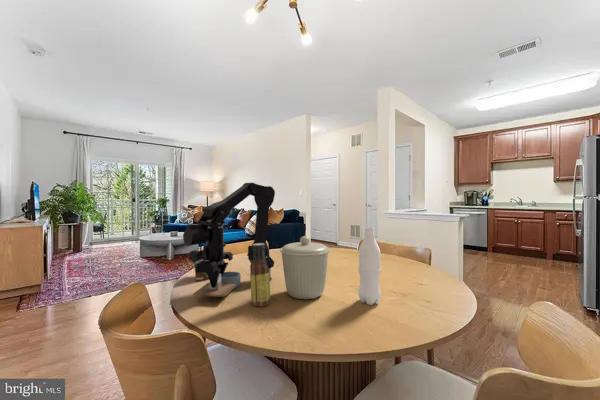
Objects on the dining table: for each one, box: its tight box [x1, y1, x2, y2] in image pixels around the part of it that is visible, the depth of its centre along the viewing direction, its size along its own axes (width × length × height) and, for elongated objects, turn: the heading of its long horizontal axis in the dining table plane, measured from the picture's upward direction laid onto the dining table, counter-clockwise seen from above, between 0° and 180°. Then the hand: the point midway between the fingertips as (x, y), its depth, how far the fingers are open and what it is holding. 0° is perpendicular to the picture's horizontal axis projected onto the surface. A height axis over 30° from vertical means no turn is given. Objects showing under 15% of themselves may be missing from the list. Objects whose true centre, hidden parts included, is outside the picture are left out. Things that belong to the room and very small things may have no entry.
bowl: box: [221, 270, 241, 290], centre depth 107 cm, size 9×9×4 cm
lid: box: [192, 273, 236, 298], centre depth 95 cm, size 11×11×6 cm
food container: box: [193, 259, 210, 283], centre depth 118 cm, size 12×6×10 cm, turn 179°
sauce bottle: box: [249, 243, 271, 308], centre depth 89 cm, size 6×6×20 cm
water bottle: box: [357, 226, 382, 306], centre depth 91 cm, size 7×7×25 cm
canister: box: [279, 235, 331, 300], centre depth 98 cm, size 18×18×21 cm
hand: (215, 285), depth 95 cm, fingers closed on lid, 3 cm apart
